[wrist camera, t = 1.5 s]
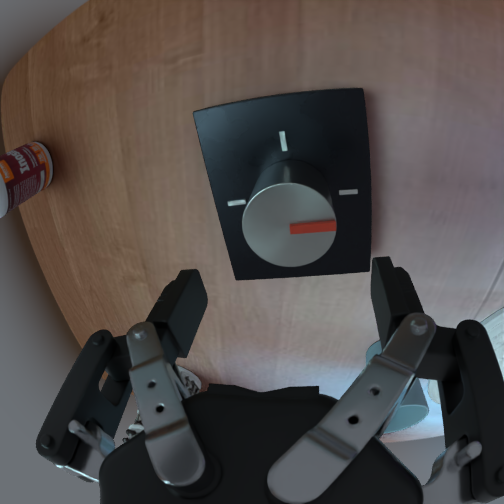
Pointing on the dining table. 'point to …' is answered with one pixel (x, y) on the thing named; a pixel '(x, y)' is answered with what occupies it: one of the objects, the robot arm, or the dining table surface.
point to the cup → (412, 405)
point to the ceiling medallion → (500, 333)
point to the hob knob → (290, 215)
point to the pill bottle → (23, 175)
